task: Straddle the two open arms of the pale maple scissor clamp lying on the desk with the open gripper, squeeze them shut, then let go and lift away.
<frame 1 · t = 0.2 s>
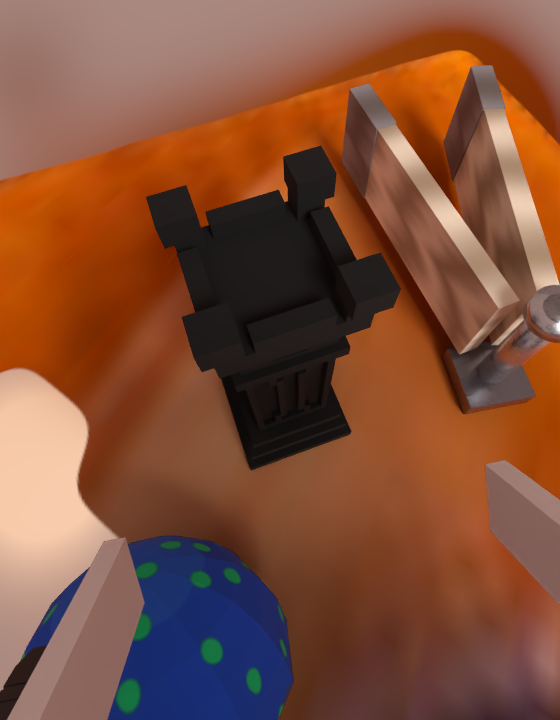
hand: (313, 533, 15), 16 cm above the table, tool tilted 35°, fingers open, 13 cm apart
left arm: (411, 215, 33), point 5 cm above the table, hinge at 10.0°
chess piece: (283, 405, 34), on the table
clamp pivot: (482, 378, 34), on the table
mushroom: (190, 648, 28), on the table
right arm: (490, 201, 34), point 5 cm above the table, hinge at 10.0°
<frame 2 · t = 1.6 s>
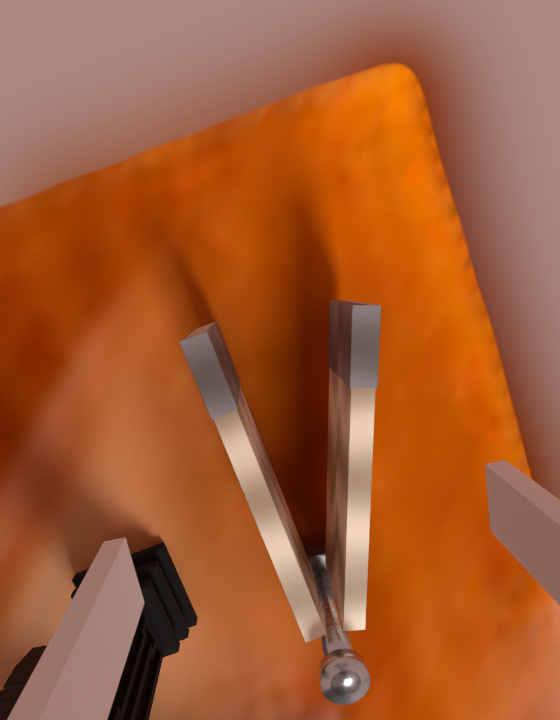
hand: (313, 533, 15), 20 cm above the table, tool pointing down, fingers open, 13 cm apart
left arm: (258, 474, 30), point 5 cm above the table, hinge at 10.0°
chess piece: (138, 594, 37), on the table
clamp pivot: (318, 569, 38), on the table
right arm: (347, 457, 30), point 5 cm above the table, hinge at 10.0°
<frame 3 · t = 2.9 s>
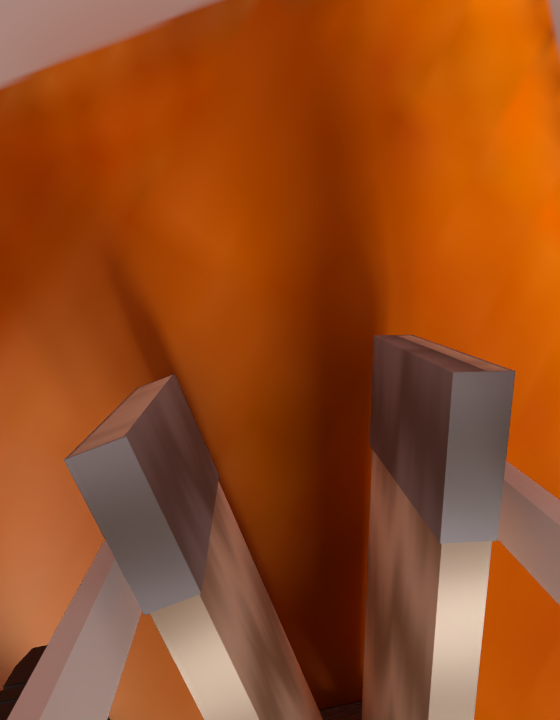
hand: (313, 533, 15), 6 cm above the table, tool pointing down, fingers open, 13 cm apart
left arm: (249, 656, 17), point 5 cm above the table, hinge at 10.0°
right arm: (410, 622, 17), point 5 cm above the table, hinge at 10.0°
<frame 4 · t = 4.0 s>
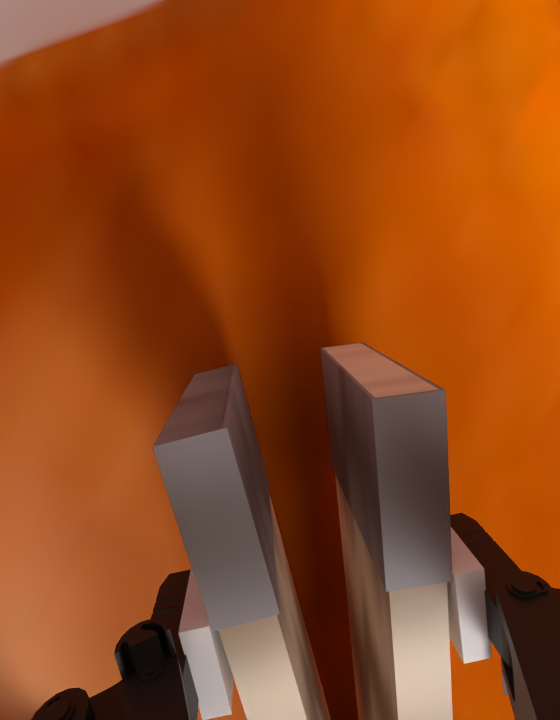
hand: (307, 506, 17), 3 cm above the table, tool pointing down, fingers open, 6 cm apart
left arm: (289, 680, 15), point 6 cm above the table, hinge at 3.4°, touching gripper
right arm: (388, 659, 15), point 5 cm above the table, hinge at 3.7°, touching gripper
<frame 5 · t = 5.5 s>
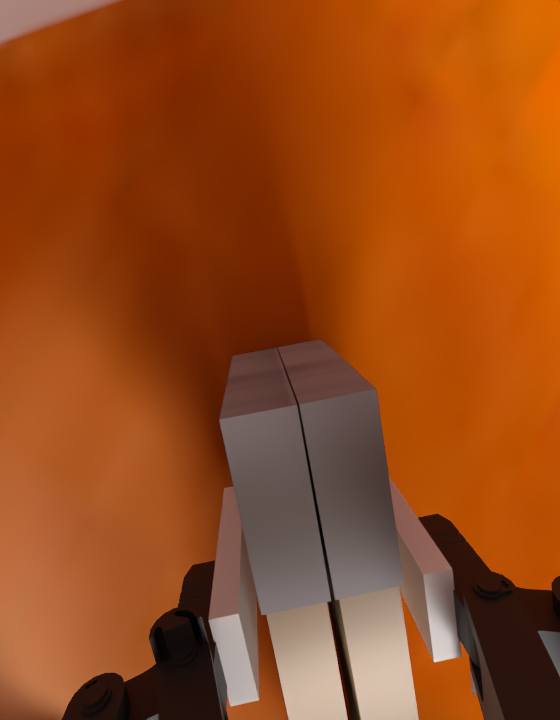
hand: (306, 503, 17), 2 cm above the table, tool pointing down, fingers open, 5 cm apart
left arm: (313, 671, 15), point 6 cm above the table, hinge at -0.3°
right arm: (364, 660, 15), point 6 cm above the table, hinge at -0.3°
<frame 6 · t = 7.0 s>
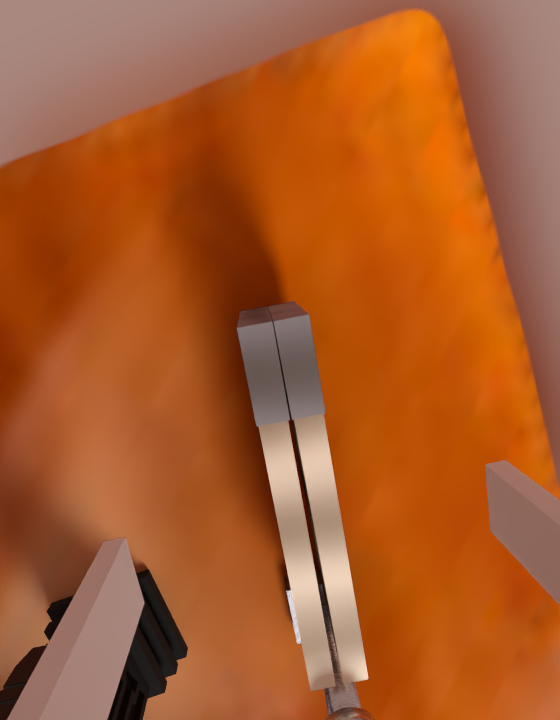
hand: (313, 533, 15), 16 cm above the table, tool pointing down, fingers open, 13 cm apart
left arm: (287, 492, 26), point 5 cm above the table, hinge at -0.3°
chess piece: (122, 624, 34), on the table
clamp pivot: (320, 596, 34), on the table
right arm: (317, 486, 26), point 5 cm above the table, hinge at -0.3°
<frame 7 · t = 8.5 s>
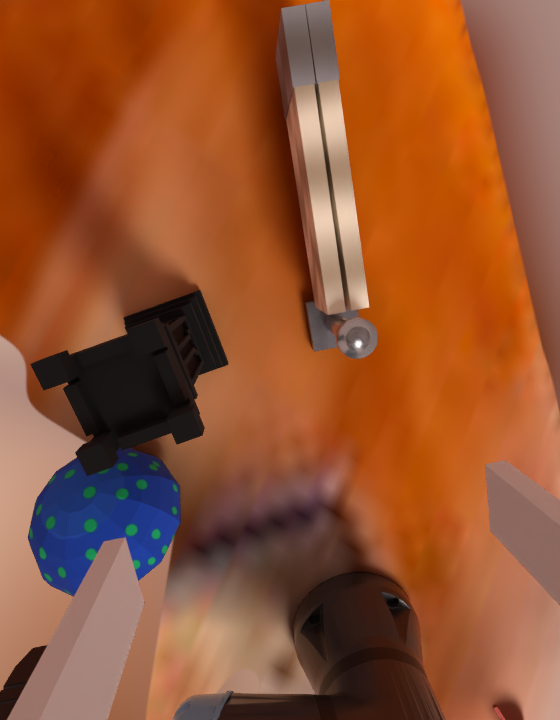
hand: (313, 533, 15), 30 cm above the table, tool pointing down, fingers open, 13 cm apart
left arm: (310, 181, 36), point 6 cm above the table, hinge at -0.3°
chess piece: (178, 340, 44), on the table
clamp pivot: (331, 321, 44), on the table
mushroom: (129, 486, 47), on the table
right arm: (331, 177, 36), point 6 cm above the table, hinge at -0.3°
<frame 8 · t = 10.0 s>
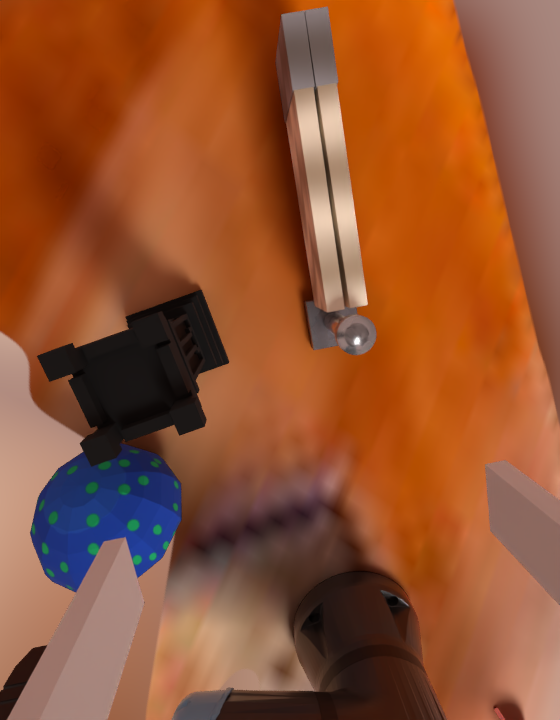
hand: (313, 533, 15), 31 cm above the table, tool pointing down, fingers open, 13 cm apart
left arm: (309, 181, 37), point 6 cm above the table, hinge at -0.3°
chess piece: (179, 338, 44), on the table
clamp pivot: (331, 320, 45), on the table
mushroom: (130, 484, 47), on the table
right arm: (330, 178, 37), point 6 cm above the table, hinge at -0.3°
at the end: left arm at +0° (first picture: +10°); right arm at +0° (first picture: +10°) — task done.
